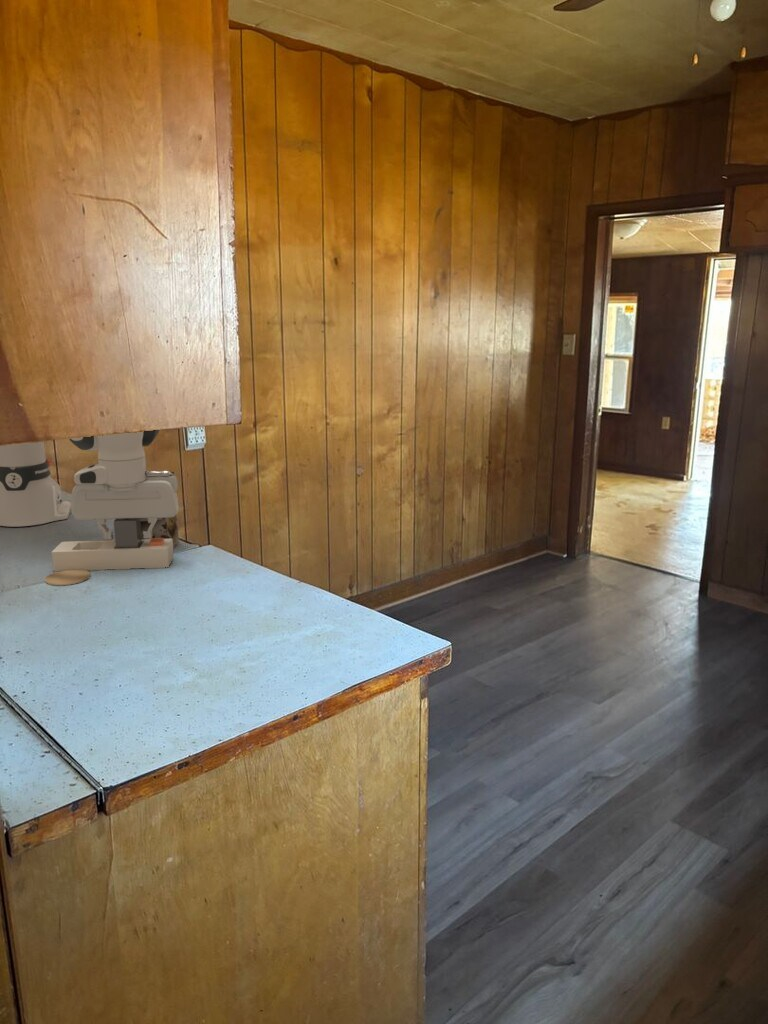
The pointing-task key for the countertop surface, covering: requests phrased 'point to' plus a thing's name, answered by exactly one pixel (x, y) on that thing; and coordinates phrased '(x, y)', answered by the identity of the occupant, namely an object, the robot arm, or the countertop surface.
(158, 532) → the coffee box
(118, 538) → the block
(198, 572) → the countertop surface
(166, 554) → the power strip
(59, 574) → the coaster
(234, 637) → the countertop surface
